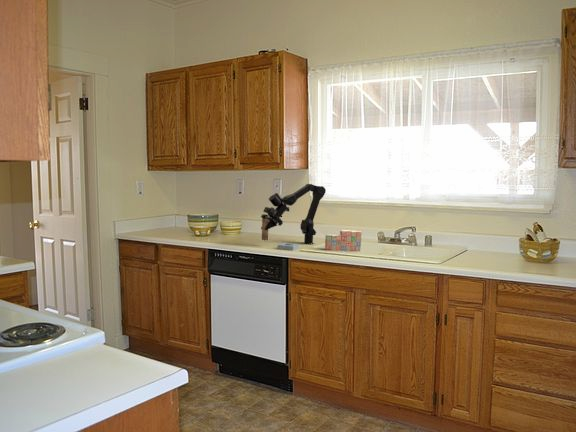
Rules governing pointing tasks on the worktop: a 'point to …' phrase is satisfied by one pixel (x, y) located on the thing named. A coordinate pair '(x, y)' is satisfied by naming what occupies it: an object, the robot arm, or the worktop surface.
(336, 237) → the stack of blocks
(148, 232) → the worktop surface
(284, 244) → the bead block
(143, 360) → the worktop surface
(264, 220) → the dowel
